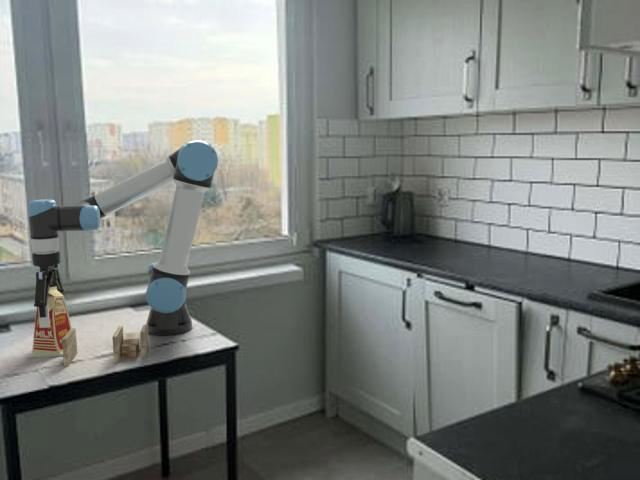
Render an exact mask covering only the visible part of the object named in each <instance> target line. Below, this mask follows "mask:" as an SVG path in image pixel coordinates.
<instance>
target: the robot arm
mask: <svg viewBox="0 0 640 480" xmlns="http://www.w3.org/2000/svg"><path fill="white" fill-rule="evenodd" d="M218 164H219V157H218V153H217V151H216V149H215V148H214V147H213V146H212V145H211V144H210V143H209V142H207V141H203V140H200V139H193V140H189V141H187V142H186V143H184V144H183V145H182V146H181V147H180V148H178V149H177V150H175V151H173V152H172V153H170V154H168V155H166V157H165V160H163V161H160V162H159V163H157V164H155V165H153V166H150V167H149V168H146V169H144V170H142V171H141V172H139V173H137V174H135V175H133V176H131V177H130V176H129V178H126V179H124V180H122V181H120V182H118V183H116V184H114V185H113V186H110V187H108V188H106V189H105V190H102V191H100V192H98V193H96V194H94V195H93V196H90V197H88V198H86V199H82V200H81V201H79V202H77V203H76V204H75V205H65V206H62V205H57V204H56V203H57V202H56V201H55V200H54V199H45V198H44V199H35V200H31V201H29V202H28V205H27V206H28V216H27V217H28V223H29V232H30V234H29V235H30V241H28V242H29V243H28V244H30V245H31V252H32V254H31V259H32V265H33V266H34V267H38V268H39V271H36V273H35V293H34V294H35V295H34V303H33V306H34V307H33V308H37V307H38V316H39V327H40V328H47V327H50V320H49V308H48V305H47V300H48V293H49V288H50V287H55V286H57V290H58V291H59V292H60V293H61V294H62V293H63V294H64V293H65V292H64V291H65V290H64V286H63V281H62V279H61V274H60V271H59V265H60V263H61V253H60V251H59V250H60V238H59V232H82V231H83V232H84V231H85V232H89V231H97V230H99V229H100V227H101V219H104V218H105V217H106V216H109V215H111V214H113V213H115V212H117V211H119V210H121V209H123V208H125V207H127V206H129V205H131V204H133V203H135V202H137V201H139V200H141V199H143V198H145V197H147V196H149V195H151V194H154V193H156V192H157V191H160V190H161V189H164V188H166V187H167V186H169V185H171V184H175V186H176V187H175V191H174V195H173V199H172V203H171V204H172V205H171V209H170V212H169V216H168V221H167V225H166V229H165V234H164V238H163V241H162V242H163V243H162V247H161V251H160V256H159V260H158V261H156V262H151V263H149V264H148V271H147V272H148V283H147V284H148V285H147V288H146V289H145V290H146V291H145V297H146V301H147V303H148V305H149V307H150V309H149V312H148V315H147V320H146V324H145V325H148V334H151V335H154V336H155V335H156V336H171V335H172V336H174V335H179V334H183V333H186V332H188V331H190V330H192V328H193V321H192V317H191V314H190V312H189V310H188V307H187V303H186V302H187V301H186V300H187V299H186V298H187V288H188V284H189V279H190V274H191V271H190V269H189V267H188V263H189V259H190V254H191V251H192V245H193V241H194V238H195V233H196V228H197V224H198V220H199V216H200V213H201V209H202V205H203V199H204V195H205V193H207V191H210V190H211V188H212V184H213V183H212V182H213V179H214V175H215V173H216V170H217V169H218V166H219V165H218ZM41 301H42V302H41Z"/></svg>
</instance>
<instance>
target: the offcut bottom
mask: <svg viewBox="0 0 640 480" xmlns="http://www.w3.org/2000/svg"><path fill="white" fill-rule="evenodd" d="M140 351H141V344H139V347H138V349H137V351H136V352H126V353H122V357H121V359H133V358H134V359H135V358H137V356H138V354H139V352H140Z"/></svg>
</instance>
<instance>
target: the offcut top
mask: <svg viewBox="0 0 640 480" xmlns="http://www.w3.org/2000/svg"><path fill="white" fill-rule="evenodd" d="M123 337H124V346H132V345H138V339H139V332H138V331H137V332H126V333H124V332H123Z"/></svg>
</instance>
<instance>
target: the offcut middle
mask: <svg viewBox="0 0 640 480" xmlns="http://www.w3.org/2000/svg"><path fill="white" fill-rule="evenodd" d="M139 345H140V339H139V338H138V345H132V346H124V343H123V344H122V346H121V348H122V353H126V352H136V351H137V349H138V347H139Z"/></svg>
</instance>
